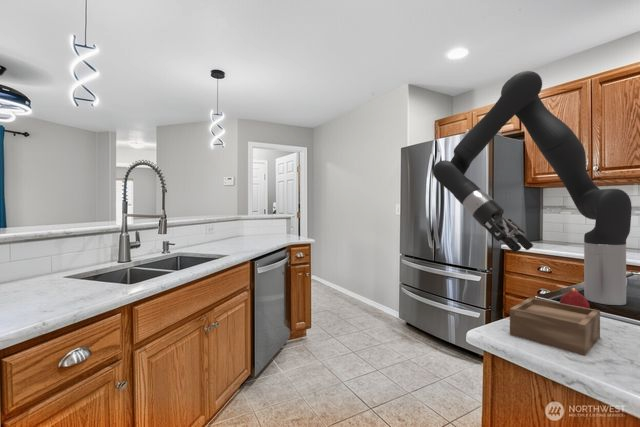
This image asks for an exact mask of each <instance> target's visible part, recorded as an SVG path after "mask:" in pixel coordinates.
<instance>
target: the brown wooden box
mask: <svg viewBox="0 0 640 427" xmlns="http://www.w3.org/2000/svg"><path fill="white" fill-rule="evenodd" d="M509 335H510V336H513V337H516V338H521V339H524V340H526V341H530V342H534V343H538V344H540V345H541V344H542V345H545V346H548V347H552V348H554V349H555V348H556V349H560V350H563V351H566V352H570V353H574V354H576V355H577V354H578V355H580V356H585V357H586V355H587V354H588V353H589V351H590V350H591V349H592V348H593V346H594V345H595V344H596V343H597V342H598V340H600V338H601V310H599V309H594V308H584V307H579V306H574V305H568V304H563V303H560V302H557V301H551V300H546V299H540V298H534V297H530V298H527V299H526V300H523V301H521V302H519V303H518V304H516V305H514V306H512V307H510V308H509Z"/></svg>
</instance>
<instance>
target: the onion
mask: <svg viewBox="0 0 640 427" xmlns="http://www.w3.org/2000/svg"><path fill="white" fill-rule="evenodd" d="M559 303H563V304H568V305H574V306H579V307H584V308H590V306H591V305H590V303H589V300H587V299H586V298H585V297H584V294H581V293H580V292H578V289H576V287H573V288H571V290H570V291H569V292H566V293H565V294H563V295H562V296H561V297H560V299H559ZM590 309H591V308H590Z"/></svg>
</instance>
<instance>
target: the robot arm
mask: <svg viewBox="0 0 640 427" xmlns="http://www.w3.org/2000/svg"><path fill="white" fill-rule="evenodd" d="M542 88H543V80H542V77H541V76H540V74H538V73H537V72H535V71H532V70H525V71H521V72H518V73H516V74H514V75H513V76H512V77H511V78H509V79H508V80H507V81H506V82H504V84H503V86H502V88H501V93H500V97H499V98H498V100H497V101H496V103H495V104H494V105H493V106H492V107H491V108H490V109H489V111H487V113H486V114H485V115H484V116H483V117H481V119H480V120H479V121H478V122H477V123H476V124H475V125H474V126H473V127H472V128H471V129H470V130H469V131H468V132H467V133H466V134H465V136H463V138H462V139H461V140H460V141H459V143H458V144H456V146H455V147H454V149H453V156H452V158H451V160H440V161H437V163H435V165H434V166H433V169H432V173H433V177H434V179H435V180H437V182H438V183H439V184H441V186H443V187H444V188H445V189H446V190H447V191H449V192H450V193H451V194H452V196H454V197H455V199H456V200H457V201H458V202H459V203H460V204H461V205H462V206H463V207H464V209H465V210H466V211H467V213H469V214H470V215H471V217H473V218H474V220H475V221H476V222H477V223H479V225H480V226H482V227H484V228H485V230H487V232H488V233H489V234H490V235H491V236H492V237H493V238H494V240H496V241H497V242H501V243H504V244H505V245H506V246H507V247H508V249H510V250H511V251H512V252H513V253H518V252H519V251H520V250H521V249H522V248H524V249H525V251H528V250H531V249H532V248H533V247H534V244H533V243H532V242H531V241H530V239H528V238H527V237H526V236H525V231H524V230H522V229H521V228H520V226H518V224H516V223H515V222H514V221H513V220H512V219H510V218H508V219H506V218H504V217H503V215H504V212H505V210H504V208H503V207H501V205H499V204H498V203H497V201H496V200H494V199H493V198H492V197H491V196H490V195H489V194H488V193H486V192H485V191H484V190H482V189H481V188H480V187H479V186H478V185H477V184H476V183H475V182H474V181H472V180H471V179H469V178H467V176H465V174H466V172H468V169H469V168H470V166H471V164H472V162H473V161H474V160H475V159H476V158H477V157H478V156H479V154H480V153H481V152H482V151H483V150H484V149H486V147H487V146H488V145H489V143H490V142H492V140H493V139H494V138H495V136H496V135H497V134H498V133H499V132H500V131H501V129H503V127H505V125H506V124H507V123H508V122H509V121H510V120H512V118H513V117H514V116H515V117H517V119H518V120H519V121H520V122H521V123H522V124H523V127H524V128H525V130H526V131H527V133H528V135H529V136H530V138H531V139H532V141H533V142H534V144H535V145H536V147H537V149H538V150H539V151H540V153H541V154H542V156H543V157H544V159H545V161H546V162H547V163H548V164H549V165H550V167H551V168H552V169H553V171H554V172H555V173H556V175H557V177H558V178H559V180H560V181H561V183H562V184H563V185H564V187H565V189H566V190H567V192H568V193H569V196H570V198H571V199H572V201H573V204H574V205H575V207H576V209H577V210H578V212H579V213H580V214H581V215H582V216H583V217H585V218H586V219H589V220H595V224H594V227H593V228H592V229H591V230H590V231H587V232H585V233H584V234H583V235H584V236H583V261H584V262H583V273H584V274H583V275H584V276H583V280H584V281H583V283H584V284H583V287H584V288H583V290H584V291H583V296H584V297H585V298H586V299H587V301H588V302H589V301H590V302H592V303H597V304H602V305H609V306H624V305H626V304H627V239H628V237H629V235H630V233H631V224H632V199H631V198H630V196H629V194H628V193H627V192H626V191H624V190H622V189H619V188H606V189H605V188H603V189H600V188H599V187H598V186H597V185H596V183H595V182H594V181H593V179H592V178H591V176H590V174H589V173H588V170H587V157H586V150H585V147H584V146H583V144H582V142H581V141H580V139H579V138H578V137H577V135H576V134H575V132H574V131H573V130H572V129H571V128H570V127H569V125H567V123H565V122H563V120H561V119H560V118H558V117H557V116H556V115H554V113H552V112H551V111H550V110H549V109H548V108H547V107H546V105H545V104H544V103H543V101H542V100H541V98H540V96H539V95H540V93H541V92H542Z"/></svg>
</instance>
